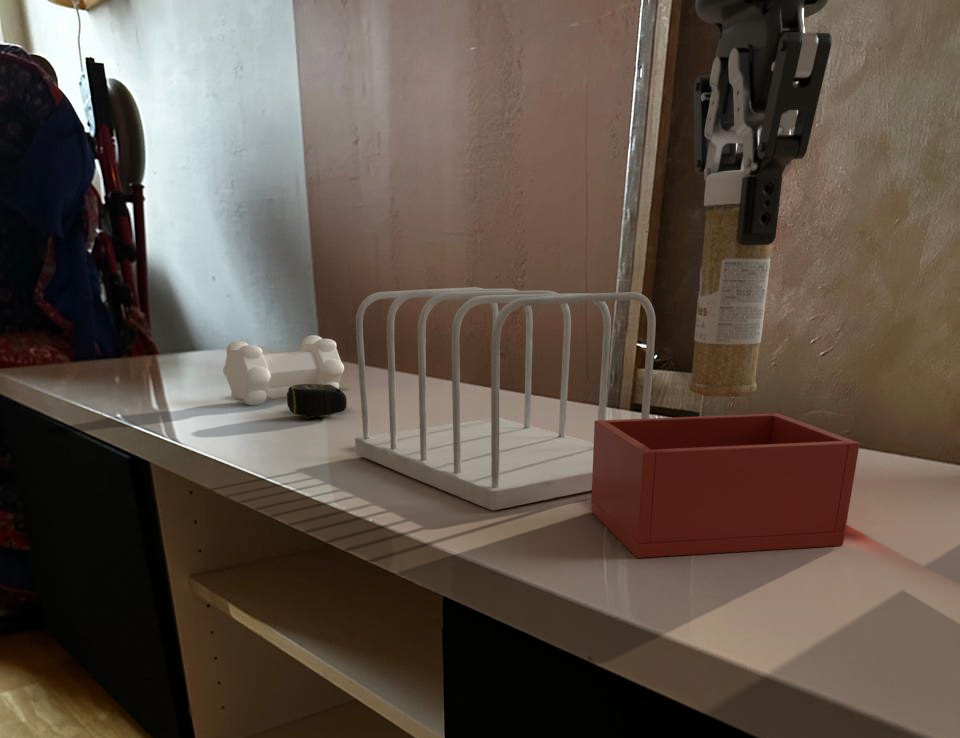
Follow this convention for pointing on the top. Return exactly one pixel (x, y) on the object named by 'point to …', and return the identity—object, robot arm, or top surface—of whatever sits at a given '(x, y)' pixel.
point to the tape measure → (315, 400)
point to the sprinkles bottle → (728, 296)
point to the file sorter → (492, 409)
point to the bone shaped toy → (280, 368)
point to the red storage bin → (721, 483)
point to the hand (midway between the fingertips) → (737, 244)
